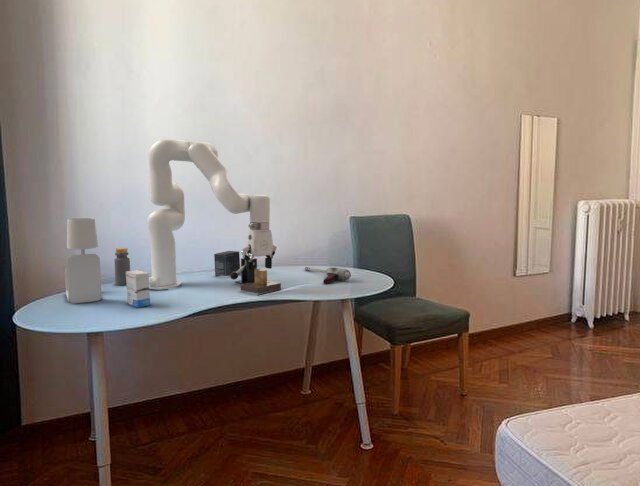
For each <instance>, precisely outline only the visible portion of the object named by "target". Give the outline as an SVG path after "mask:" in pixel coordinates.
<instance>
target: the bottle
mask: <svg viewBox="0 0 640 486" xmlns="http://www.w3.org/2000/svg"><path fill="white" fill-rule="evenodd" d="M128 249H129V248H128V247H117V248H116V247H115V253H114V255H115V257H116V258H114V262H113V263H114V280H115V281H114V282H115V285H116V286H127V283H126V272H127V271H131V260H130V258H129V257H128V256H129V252H128Z"/></svg>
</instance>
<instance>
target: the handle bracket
mask: <svg viewBox="0 0 640 486" xmlns="http://www.w3.org/2000/svg"><path fill="white" fill-rule="evenodd" d="M244 262H245V259H244V258H243V257H240V268H241V267H242V266H243V265H245V263H244ZM252 262H253V272H249V271H246V268H245V269H244V270H243V271H241V272H240V279H241V280H236V281H235V280H234V283H235V284H239V285H241V284H246V283H250V282H255V269H257V268H258V258H256V257H254V258H253V260H252Z"/></svg>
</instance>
